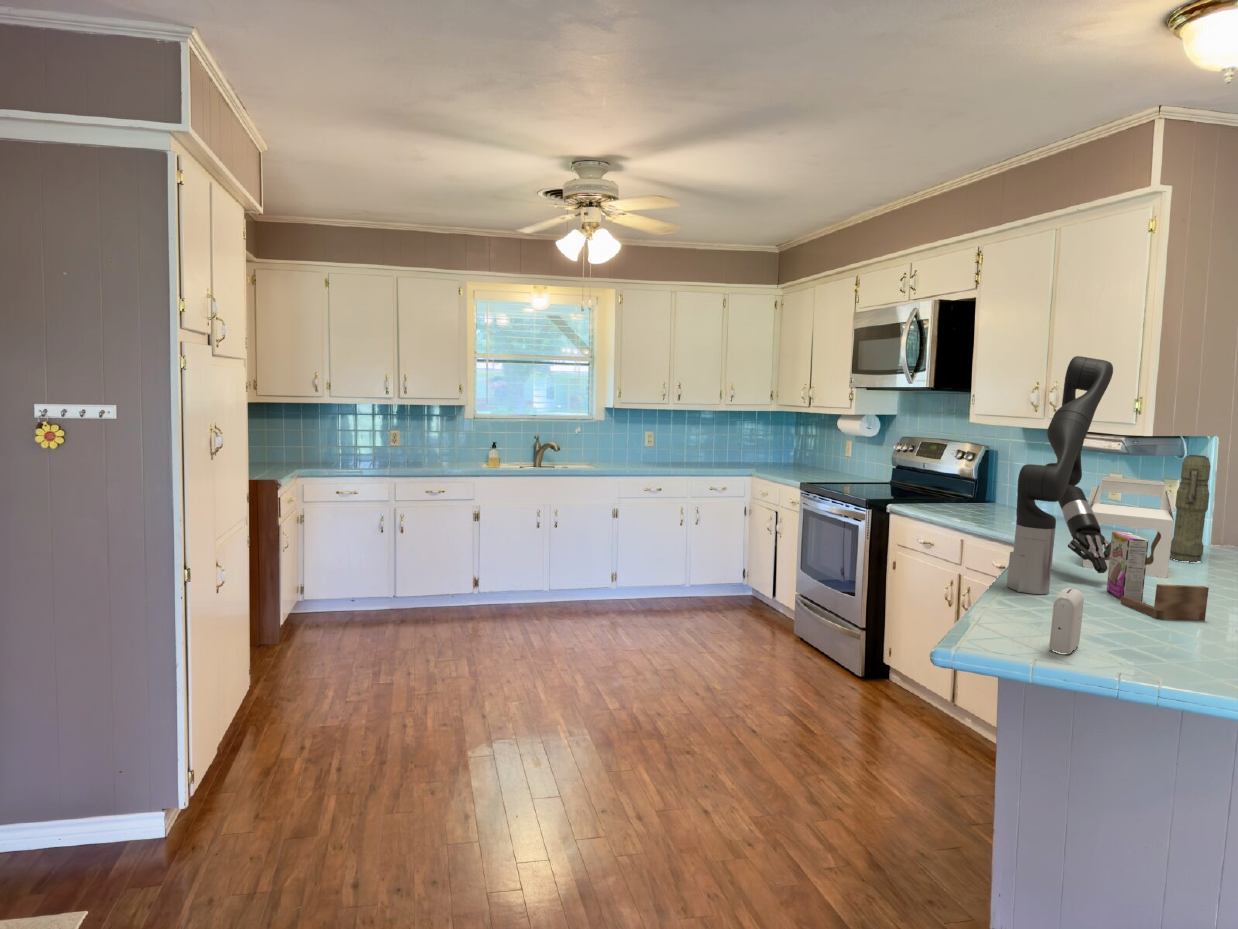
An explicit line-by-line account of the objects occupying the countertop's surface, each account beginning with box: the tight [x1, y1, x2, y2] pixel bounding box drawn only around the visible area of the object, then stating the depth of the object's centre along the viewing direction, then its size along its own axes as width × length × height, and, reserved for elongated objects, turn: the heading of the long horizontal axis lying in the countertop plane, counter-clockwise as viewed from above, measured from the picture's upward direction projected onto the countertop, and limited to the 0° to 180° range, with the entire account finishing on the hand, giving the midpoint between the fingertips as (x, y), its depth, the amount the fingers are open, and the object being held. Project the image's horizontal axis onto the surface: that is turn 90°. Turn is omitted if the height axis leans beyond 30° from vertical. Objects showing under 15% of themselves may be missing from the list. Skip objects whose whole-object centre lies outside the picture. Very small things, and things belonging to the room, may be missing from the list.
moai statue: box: [1169, 454, 1211, 562], centre depth 268 cm, size 9×12×35 cm
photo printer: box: [1048, 587, 1085, 655], centre depth 164 cm, size 10×4×12 cm, turn 140°
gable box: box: [1082, 476, 1175, 579], centre depth 249 cm, size 22×13×28 cm, turn 60°
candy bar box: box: [1106, 531, 1149, 602], centre depth 212 cm, size 11×5×16 cm, turn 168°
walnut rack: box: [1120, 583, 1210, 622], centre depth 198 cm, size 12×14×8 cm
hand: (1102, 571), depth 222 cm, fingers closed
